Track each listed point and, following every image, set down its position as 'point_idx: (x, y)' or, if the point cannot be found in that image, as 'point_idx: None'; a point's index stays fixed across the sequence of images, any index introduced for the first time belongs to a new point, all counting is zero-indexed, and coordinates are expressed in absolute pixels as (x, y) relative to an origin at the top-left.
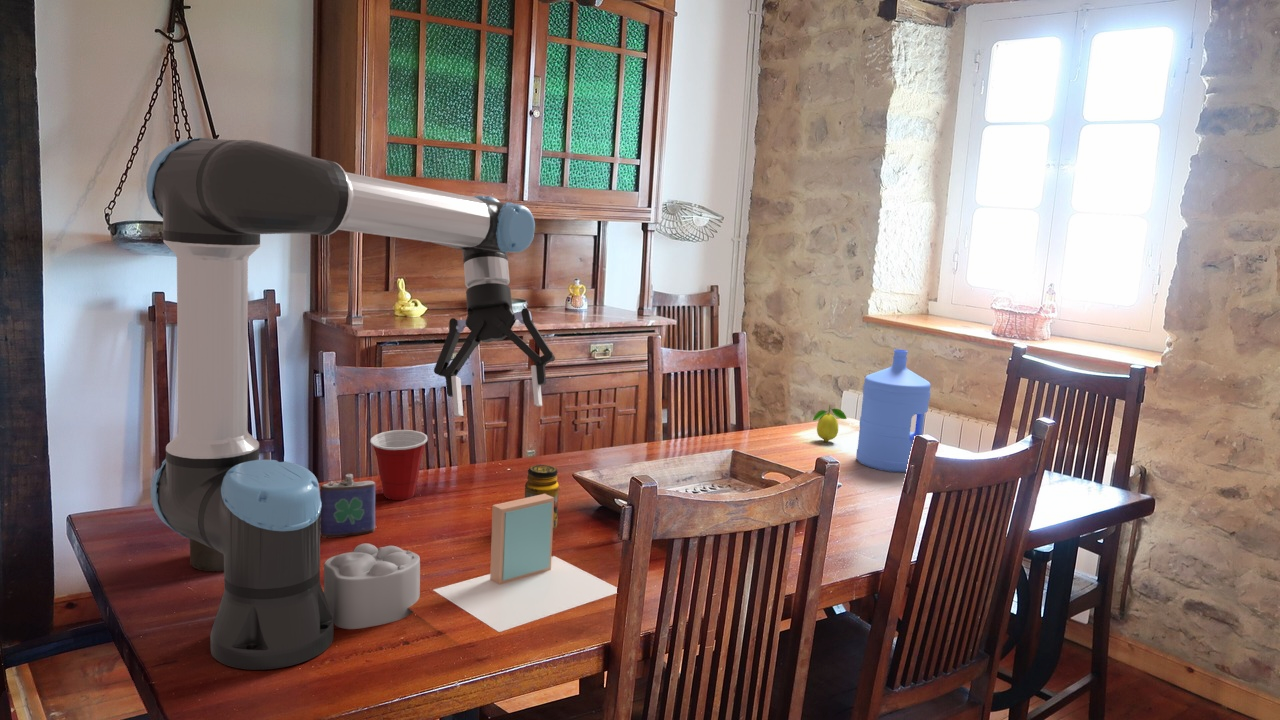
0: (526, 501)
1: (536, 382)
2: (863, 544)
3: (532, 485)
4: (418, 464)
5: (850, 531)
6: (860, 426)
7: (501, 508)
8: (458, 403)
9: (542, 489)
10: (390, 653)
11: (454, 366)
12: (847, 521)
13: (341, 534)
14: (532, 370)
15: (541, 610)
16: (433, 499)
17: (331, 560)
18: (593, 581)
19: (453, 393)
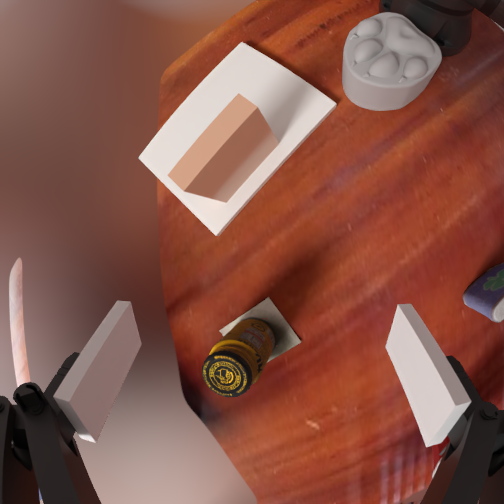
0: (206, 141)
1: (86, 346)
2: (15, 324)
3: (244, 348)
4: (436, 445)
5: (22, 351)
6: (39, 490)
7: (239, 96)
8: (409, 334)
9: (228, 340)
10: (327, 12)
11: (472, 443)
12: (27, 371)
13: (491, 269)
14: (74, 385)
15: (209, 88)
16: (406, 421)
17: (435, 49)
18: (165, 171)
19: (438, 349)
